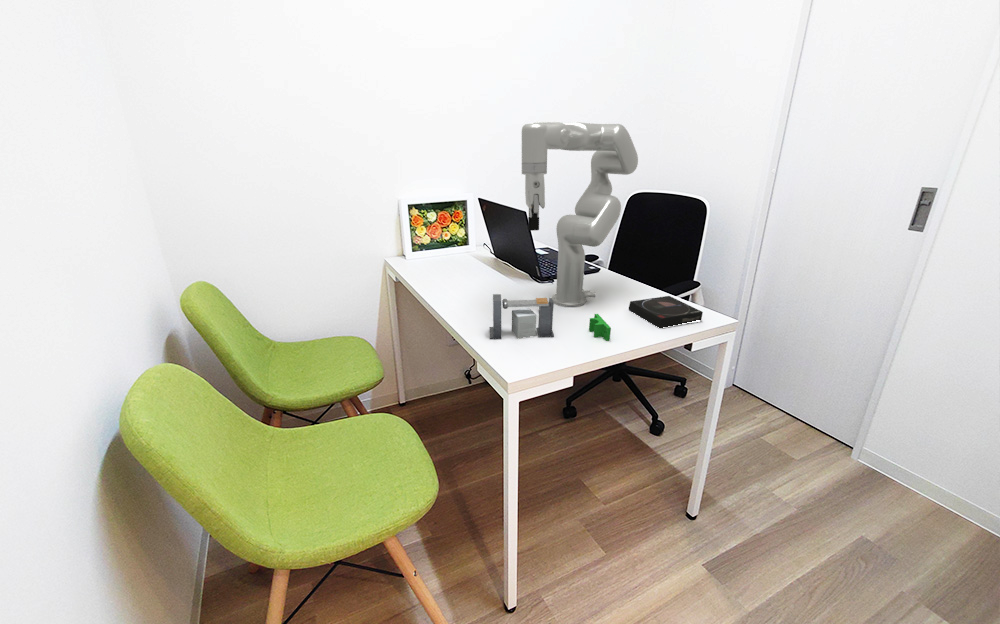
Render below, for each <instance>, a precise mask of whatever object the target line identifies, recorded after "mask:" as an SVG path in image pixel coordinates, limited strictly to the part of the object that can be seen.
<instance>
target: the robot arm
mask: <svg viewBox="0 0 1000 624" xmlns="http://www.w3.org/2000/svg"><path fill="white" fill-rule="evenodd" d="M626 128H627V127H625V126H624V125H623V124H622V123H621V124H619V123H590V122H589V123H587V122H565V123H563V122H555V121H554V122H549V121H547V122H546V121H545V122H543V121H542V122H533V123H526V124H524V125H522V128H521V175H525V179H524V181H525V182H524V183H525V184H524V185H525V186H524V187H525V189H524V190H525V192H524V194H525V204H526V206H527V207H528V220H527V225H528V226H527V230H528V231H530V232H531V231H533V232H534V231H539V230H540V208H541V209H543V210H544V208H546V207H545V206H546V197H545V196H546V195H545V193H546V190H545V188H546V187H545V175H547V173H548V150H562V151H569V152H573V151H574V152H581V151H582V152H584V151H585V152H594V153H593V154H592V155H591V156H592V157H591V160H590V172H591V173H590V174H591V175H590V176H591V177H590V183H589V184H588V186H587V188H586V189H585V190H584V192H583V193H582V194H581V195H580V198H579V199H578V200H577V202H576V204H575V207H574V212H575V214H565V215H563V216H562V217H560V218H559V219H558V220H557V223H556V237H557V244H558V245H557V249H558V250H557V252H558V253H557V270H556V272H557V273H556V291H555V294H553V295H552V296H551V298H552V300H553V304H556V305H558V306H561V307H568V308H569V307H572V308H573V307H574V308H575V307H580V306H583V305H585V304H586V302H587V298H596V292H595V291H591V290H584V289H583V288H584V276H585V263H586V253H585V249H584V247H583V246H586V247H599V246H600V245H602V243H604V241H605V239H606V238H607V237H608V235H609V233H610V232H611V230H612V229H613V228H614V226H615V225H616V223H617V222H618V220H619V217H620V214H621V212H622V211H621V210H622V204H621V201H620V199H619V198H618V197H617V196H615V195H611V194H612V192H613V185H612V182H611V180H610V179H609V175H611V174H612V175H623V176H624V175H625V176H627V175H631V174H633V173H634V172H635V171H636V169H637V167H638V165H639V156H638V152H637V150H636V147H635V145H634V141H633V140H632V137H631V136H630V133H629V131H628V130H627V129H626Z"/></svg>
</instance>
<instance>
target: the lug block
mask: <svg viewBox="0 0 1000 624" xmlns="http://www.w3.org/2000/svg"><path fill="white" fill-rule="evenodd" d="M548 304H549V306H540V307H538V323H537V324H538V325H537V326H538V327H536V334H537V338H555V334H554V332H553V331H554V330H553V320H554V319H553V316H554V302H553V300H552V297H548Z"/></svg>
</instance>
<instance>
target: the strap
mask: <svg viewBox="0 0 1000 624" xmlns="http://www.w3.org/2000/svg"><path fill="white" fill-rule="evenodd" d="M548 302H549V300H548V299H547V297H536V298H535V299H512V300H511V299H509V300H508V299H506V298H503V299H501V305H502V308H503V309H504V310H506V309H508V308H533V307H538V308H539V307H540V306H549V304H548Z"/></svg>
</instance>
